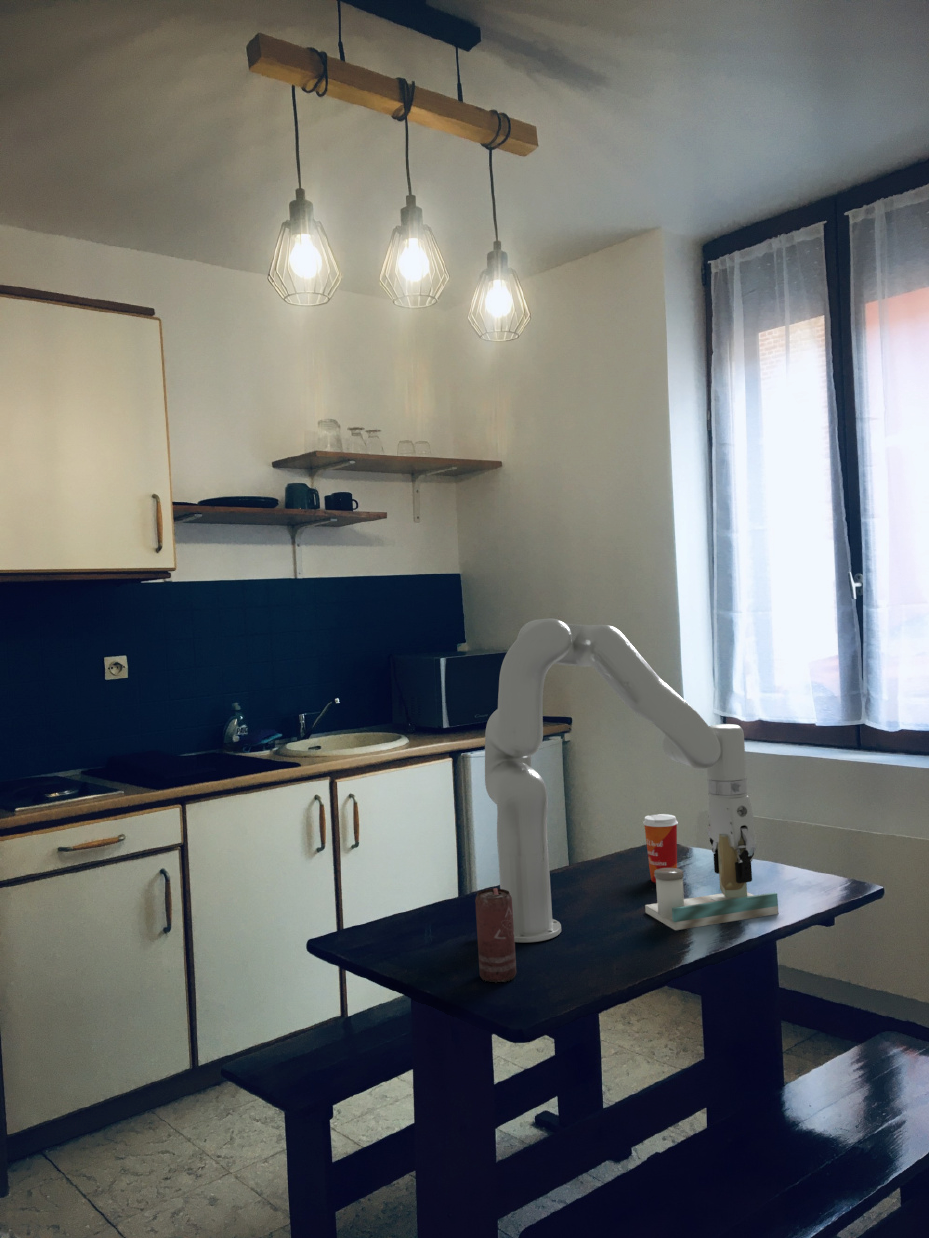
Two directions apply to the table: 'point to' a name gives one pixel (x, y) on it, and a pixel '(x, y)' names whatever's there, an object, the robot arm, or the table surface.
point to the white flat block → (716, 910)
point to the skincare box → (729, 869)
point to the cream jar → (669, 890)
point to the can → (495, 935)
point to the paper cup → (661, 842)
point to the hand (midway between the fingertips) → (733, 876)
